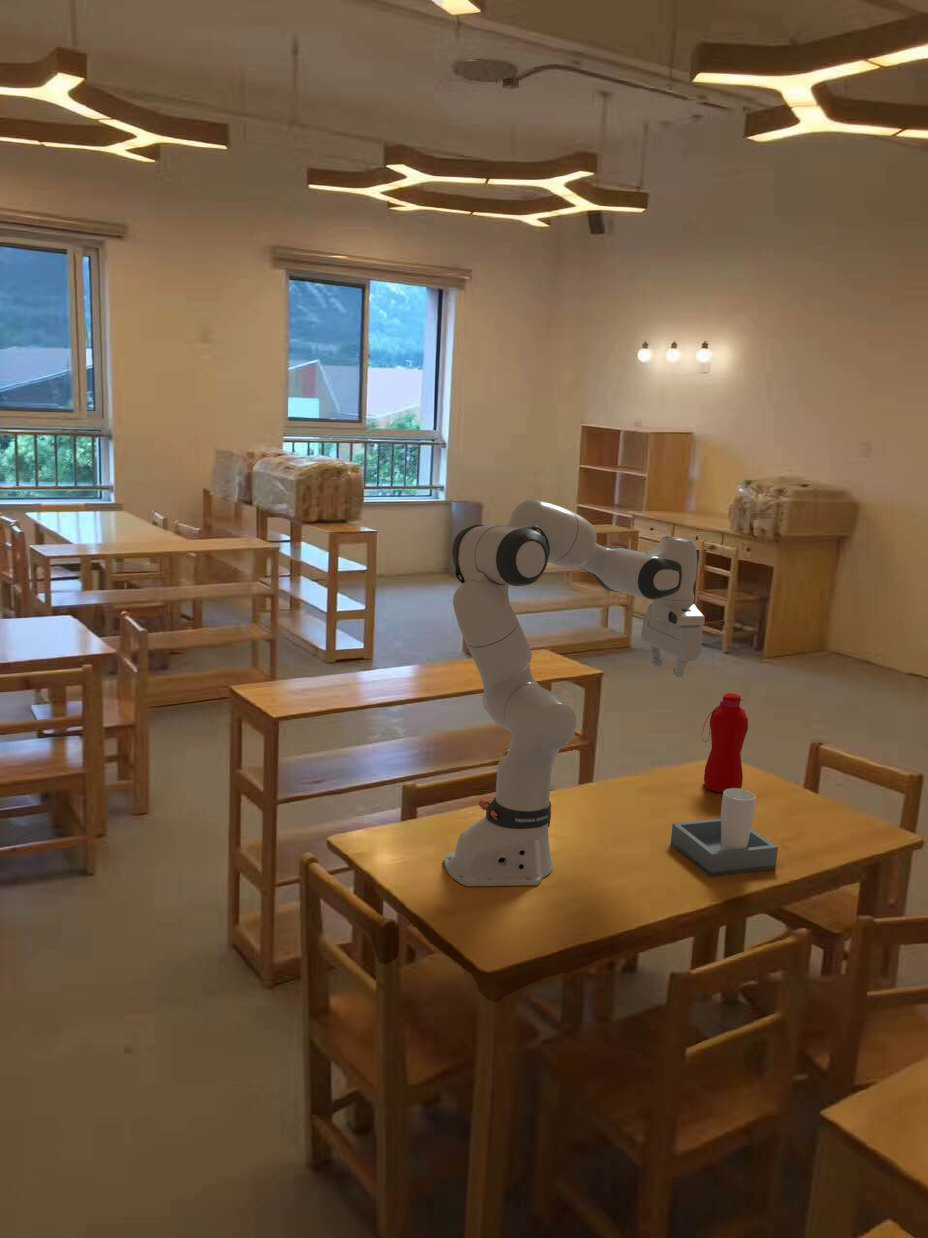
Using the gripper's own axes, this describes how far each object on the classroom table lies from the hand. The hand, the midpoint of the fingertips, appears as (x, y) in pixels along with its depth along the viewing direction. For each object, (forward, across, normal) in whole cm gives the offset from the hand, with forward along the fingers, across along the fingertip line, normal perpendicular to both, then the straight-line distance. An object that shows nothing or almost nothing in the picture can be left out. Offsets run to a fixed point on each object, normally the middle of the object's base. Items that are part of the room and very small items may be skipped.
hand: (666, 670), depth 225 cm
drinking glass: (+36, +22, +7) cm, 43 cm away
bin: (+37, +18, +7) cm, 42 cm away
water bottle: (+37, -18, +29) cm, 51 cm away
